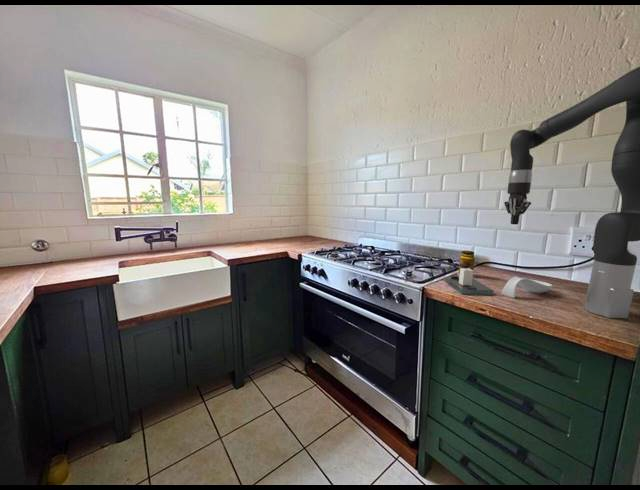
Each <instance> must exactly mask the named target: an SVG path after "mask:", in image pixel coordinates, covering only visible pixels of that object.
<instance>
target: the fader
mask: <svg viewBox="0 0 640 490" xmlns="http://www.w3.org/2000/svg"><path fill="white" fill-rule="evenodd" d="M473 275H474V269H473V270H471V269H469V268H460V276H459V283H460V284H461V285H470V286H472V279H474V278H473Z"/></svg>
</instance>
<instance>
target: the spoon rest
mask: <svg viewBox="0 0 640 490" xmlns="http://www.w3.org/2000/svg"><path fill="white" fill-rule="evenodd" d="M518 286H519V287H520V288H522V291H523V290H524V291H525V292H528V293H534V294H542V293H544V292H548V291H550V290H551V289H552V288H553V286H554V285H553V284H551V283H548V282H545V281H541V280H535V279H530V278H525V277H519V276H513V277H511V278H510V279H509V280H508V281H507V283H506V284H505V285H504V286H503V288H502V290H501V295H503V296H505V297H509V298H511V299H515V298H516V291H517V287H518Z"/></svg>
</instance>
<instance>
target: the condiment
mask: <svg viewBox="0 0 640 490" xmlns="http://www.w3.org/2000/svg"><path fill="white" fill-rule="evenodd" d="M474 256H475V251H473V250H461V256H460V258H459V259H460V260H459V266H458V271H456V274H457V276H460V268H469V269H471V270H473V271H474V266H475V257H474ZM473 279H476V276H475V275H474V274H473Z"/></svg>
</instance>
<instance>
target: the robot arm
mask: <svg viewBox="0 0 640 490" xmlns="http://www.w3.org/2000/svg"><path fill="white" fill-rule="evenodd" d="M624 102H625V105H626V108H625V109H626V111H625V112H626V113H625V123H624V125H623V128H622V131H621V133H620V135H619V136H618V139H617V141H616V143H615V145H614V147H613V148H614V149H613V152H612V157H611V158H612V159H611V167H610V171H611V176H612V178H613V180H614V182H615V185H616V187H617V188H618V190H619V193H620V196H621V197H620V198H621V204H620V211H619V212H615V211H614V212H608V213H604V215H602V216H601V217H600V218H599V219H598V221H597V222H596V225H595V229H594V236H593V244H592V251H593V254H594V258H593V263H592V268H591V272H590V273H591V274H590V278H589V283H588V289H587V291H586V299H585V304H584V310H586V311H587V312H589V313H592V314H594V315H595V314H596V315H599V316H602V317H606V318H608V319H629V314H630V309H631V305H632V301H633V296H634V289H632V284H633V283H632V282H633V279H634V274H635V269H636V265H637V262H638V257H637V256H636V255H635V254H634V253H631V251H629V250H628V246H629V245H628V244H629V243H630V242H639V241H640V66H637V67H636V68H634V69H632V70H630V71H629V72H626V73H625V74H623V75H622V76H620V77H618V78H617V79H616V80H613V82H611V83H609V84H608V85H607V86H604V87H603V88H602V89H600V90H598V91H596V92H595V93H594V94H592V95H590V96H588V97H587V98H585V99H583V100H582V101H579V102H578V103H576V104H574V105H573V106H570V107H569V108H567V109H565V110H563V111H560V112H558V113H557V114H554V115H553V116H550V117H549V118H547V119H545V120H543V121H542V122H540V124H539V126H538V127H536V128H535V129H533V130H529V129H520V130H517V131H515V133H514V134H513V135H512V137H511V138H510V144H509V147H510V157H511V165H510V173H509V177H508V183H507V184H508V185H507V191H506V192H507V194H508V195H509V197H508V200H507V201H504V206H505V209H506V211H507V213H508V214H510V216H511V217H510V224H511V225H519V222H520V216H521V215H524V214H525V213H526V211H527V210H528V209H529V207H530V206H531V205H532V202H531V201H528V200H527V199H528V196H527V195H529V194H530V192H531V185H532V179H533V166H534V157H533V156H532V155H531V152H530V150H532V149H535V148H537V147H538V146H539V147H540V146H541V145H543V144H544V143H546V142H547V141H549V140H551V139H553V138H554V137H556V136H558V135H561V134H564V133H566V132H568V131H571V130H572V129H575V128H577V126H579V125H581V124H583V123H584V122H585V121H587V120H588V119H590V118H591V117H593V116H595V115H596V114H597V113H598V114H599V112H602V111H604V110H606V109H608V108H610V107H611V108H612V107H613V106H616V105H618V104H619V105H620V104H621V103H622V104H623V103H624Z"/></svg>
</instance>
